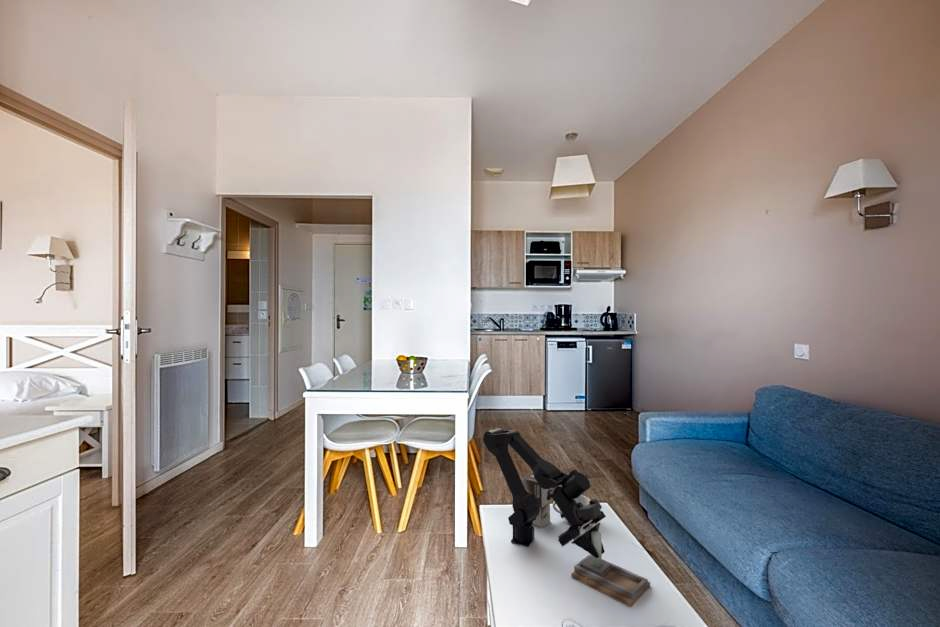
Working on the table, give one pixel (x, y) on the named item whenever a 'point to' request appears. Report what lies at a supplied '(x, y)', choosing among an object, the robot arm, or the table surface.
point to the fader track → (613, 582)
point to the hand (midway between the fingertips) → (600, 555)
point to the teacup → (581, 499)
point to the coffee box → (538, 499)
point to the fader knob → (597, 563)
